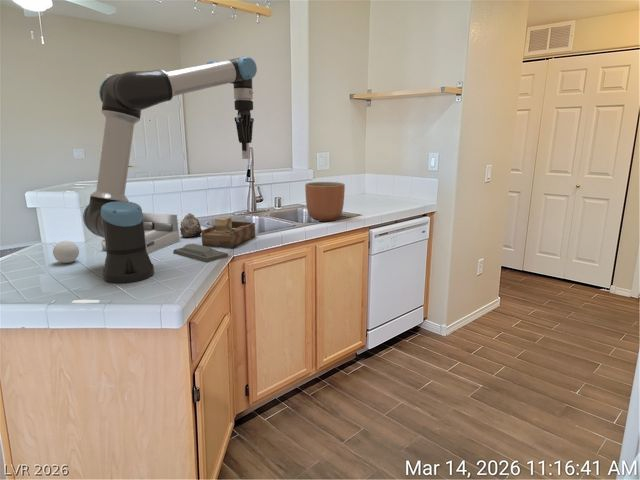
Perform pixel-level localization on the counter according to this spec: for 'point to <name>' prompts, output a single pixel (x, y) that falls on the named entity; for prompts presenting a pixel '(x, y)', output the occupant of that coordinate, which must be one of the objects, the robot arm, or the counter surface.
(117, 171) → the robot arm
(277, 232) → the counter surface
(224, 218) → the block
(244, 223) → the trap box
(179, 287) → the counter surface
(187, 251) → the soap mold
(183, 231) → the rock
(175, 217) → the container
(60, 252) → the ball
